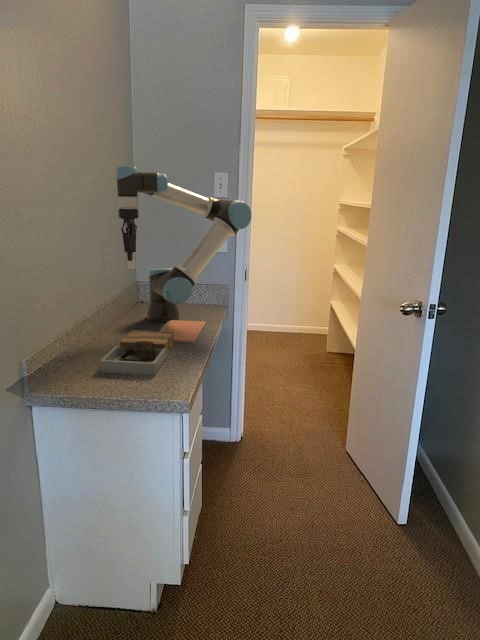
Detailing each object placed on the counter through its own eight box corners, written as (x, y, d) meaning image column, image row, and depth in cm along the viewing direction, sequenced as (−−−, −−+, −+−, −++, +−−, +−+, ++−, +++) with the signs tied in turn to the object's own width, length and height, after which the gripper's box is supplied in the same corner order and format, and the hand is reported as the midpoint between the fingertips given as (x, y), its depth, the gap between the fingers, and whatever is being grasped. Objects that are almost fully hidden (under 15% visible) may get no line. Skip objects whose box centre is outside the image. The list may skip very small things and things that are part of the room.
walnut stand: (132, 342, 174) (132, 330, 172) (173, 344, 173) (173, 332, 171) (120, 355, 160) (119, 342, 159) (164, 357, 159) (164, 344, 158)
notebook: (168, 323, 201) (168, 319, 201) (206, 325, 200) (206, 321, 199) (151, 343, 175) (151, 338, 175) (194, 345, 174) (194, 340, 173)
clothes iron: (158, 357, 156) (141, 376, 148) (131, 351, 160) (114, 369, 153) (154, 341, 152) (137, 360, 144) (127, 335, 156) (109, 353, 149)
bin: (117, 355, 160) (116, 345, 159) (167, 358, 159) (166, 347, 158) (100, 372, 145) (99, 360, 144) (155, 375, 144) (155, 363, 143)
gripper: (124, 207, 181) (127, 265, 188) (113, 208, 169) (116, 270, 175) (142, 207, 181) (144, 266, 187) (132, 209, 168) (135, 271, 175)
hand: (131, 268), depth 181 cm, fingers closed
